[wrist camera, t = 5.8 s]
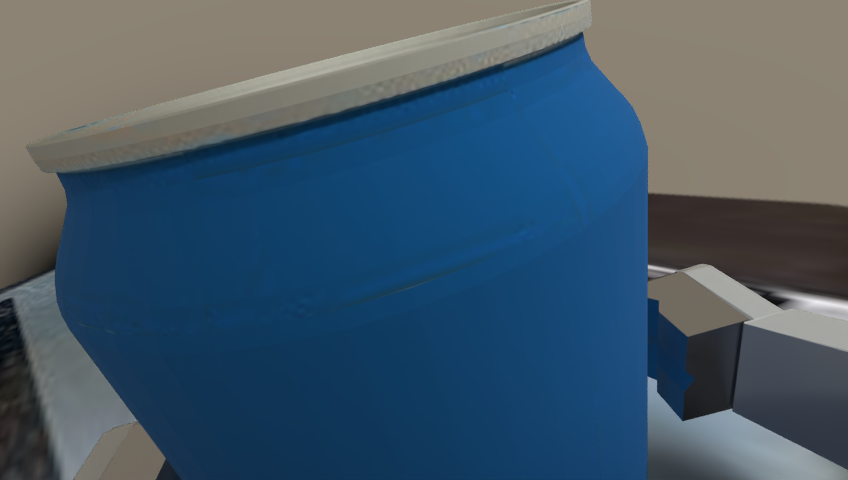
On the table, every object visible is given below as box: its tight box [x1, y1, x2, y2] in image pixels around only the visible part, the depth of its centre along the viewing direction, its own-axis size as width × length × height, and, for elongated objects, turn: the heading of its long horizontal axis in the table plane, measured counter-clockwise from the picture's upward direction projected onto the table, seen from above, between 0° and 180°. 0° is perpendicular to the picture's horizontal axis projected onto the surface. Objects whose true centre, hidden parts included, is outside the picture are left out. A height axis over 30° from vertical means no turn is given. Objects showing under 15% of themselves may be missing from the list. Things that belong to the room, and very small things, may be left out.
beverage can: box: [26, 0, 648, 480], centre depth 7 cm, size 6×6×12 cm
